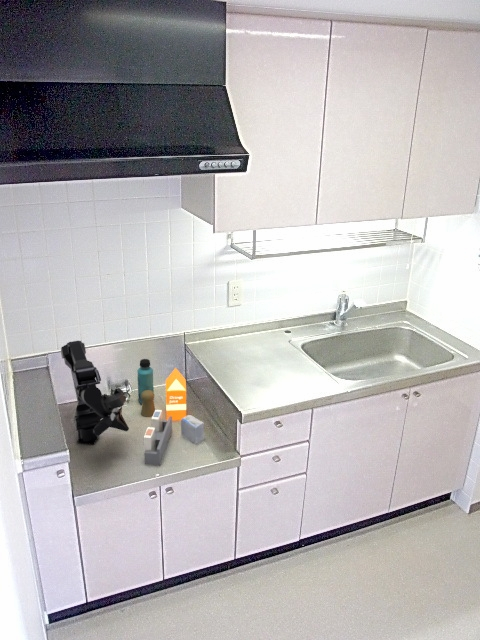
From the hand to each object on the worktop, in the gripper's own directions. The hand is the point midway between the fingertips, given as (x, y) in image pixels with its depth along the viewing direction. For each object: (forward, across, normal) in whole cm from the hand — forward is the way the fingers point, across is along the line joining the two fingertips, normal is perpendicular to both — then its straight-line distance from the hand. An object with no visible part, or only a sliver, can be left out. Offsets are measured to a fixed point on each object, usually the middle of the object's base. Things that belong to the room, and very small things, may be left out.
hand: (127, 430), depth 189 cm
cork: (+8, +26, +9) cm, 29 cm away
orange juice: (+16, +27, +1) cm, 32 cm away
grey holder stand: (+15, +6, +2) cm, 16 cm away
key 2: (+12, +11, +2) cm, 17 cm away
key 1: (+13, 0, +2) cm, 13 cm away
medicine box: (+23, +14, -6) cm, 27 cm away
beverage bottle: (+6, +35, +11) cm, 37 cm away
